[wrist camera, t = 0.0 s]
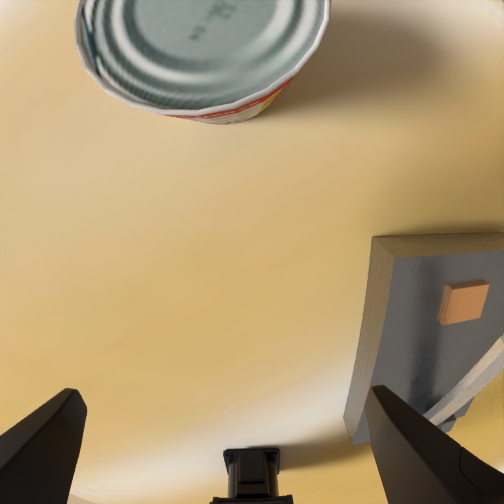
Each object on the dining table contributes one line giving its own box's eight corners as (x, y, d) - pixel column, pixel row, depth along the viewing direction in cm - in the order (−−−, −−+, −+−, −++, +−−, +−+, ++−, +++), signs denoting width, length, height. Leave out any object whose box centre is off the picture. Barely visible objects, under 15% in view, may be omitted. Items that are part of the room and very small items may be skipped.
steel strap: (434, 420, 24) (435, 426, 24) (408, 427, 24) (410, 434, 24) (527, 327, 14) (532, 337, 13) (500, 336, 14) (505, 347, 13)
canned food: (279, 11, 16) (312, -94, 5) (289, 120, 19) (346, 107, 8) (160, 24, 16) (81, -59, 5) (168, 132, 19) (77, 139, 8)
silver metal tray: (450, 392, 29) (471, 427, 24) (343, 416, 29) (355, 461, 24) (501, 232, 22) (544, 257, 16) (372, 236, 22) (407, 271, 16)
